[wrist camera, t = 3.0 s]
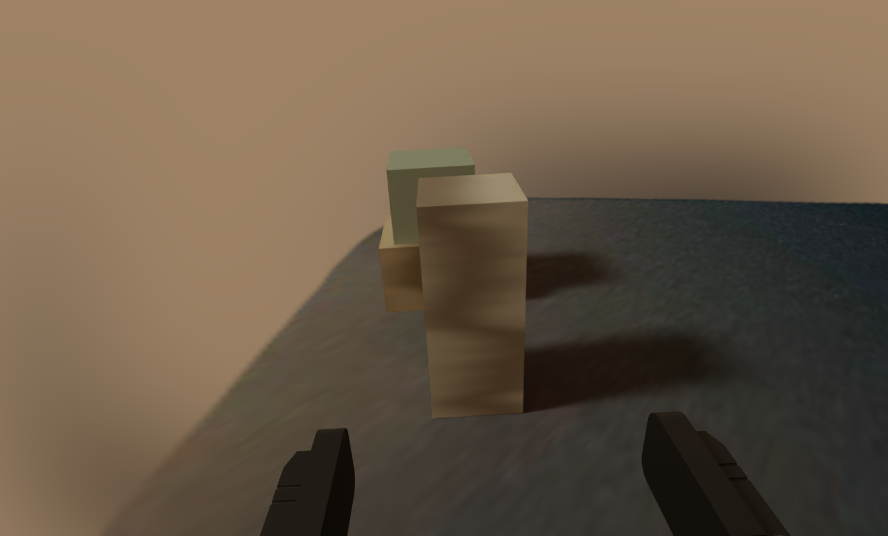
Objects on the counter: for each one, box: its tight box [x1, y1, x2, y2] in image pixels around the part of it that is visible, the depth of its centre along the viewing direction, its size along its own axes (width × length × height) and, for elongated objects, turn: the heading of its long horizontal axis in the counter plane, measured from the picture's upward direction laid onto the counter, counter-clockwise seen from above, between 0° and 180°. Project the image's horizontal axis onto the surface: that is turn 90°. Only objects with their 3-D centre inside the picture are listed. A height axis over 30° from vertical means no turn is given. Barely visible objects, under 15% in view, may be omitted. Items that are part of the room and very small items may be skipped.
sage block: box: [387, 147, 475, 244], centre depth 34 cm, size 6×6×5 cm
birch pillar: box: [416, 173, 528, 418], centre depth 24 cm, size 4×4×11 cm
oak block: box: [379, 214, 424, 312], centre depth 36 cm, size 7×7×5 cm
